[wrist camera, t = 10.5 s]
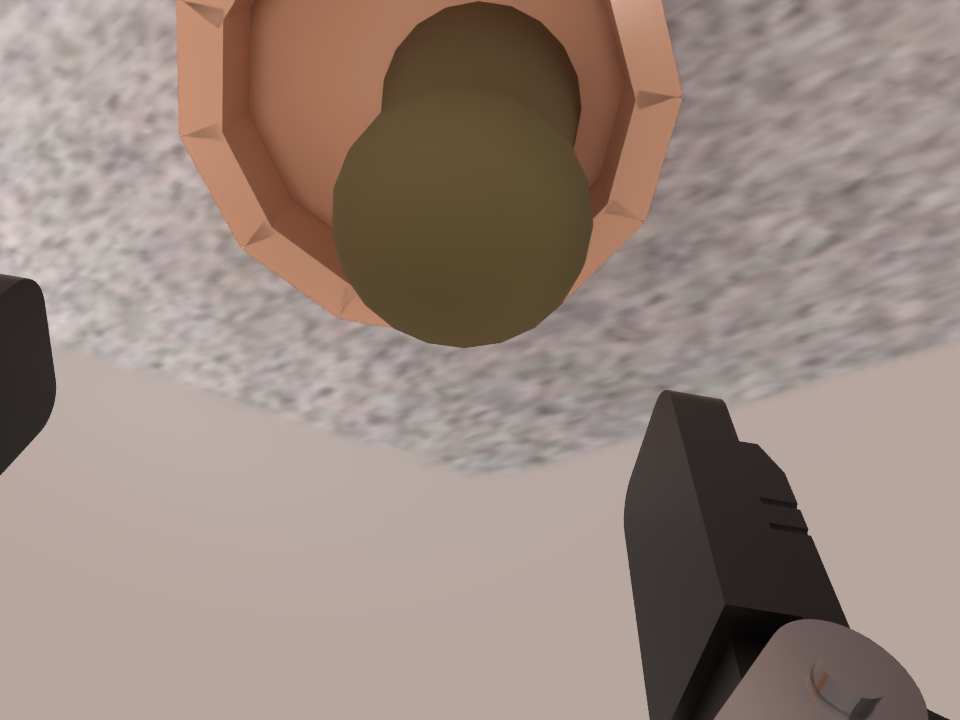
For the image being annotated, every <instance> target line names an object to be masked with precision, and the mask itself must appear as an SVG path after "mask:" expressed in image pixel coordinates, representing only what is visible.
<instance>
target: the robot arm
mask: <svg viewBox="0 0 960 720" xmlns="http://www.w3.org/2000/svg"><path fill="white" fill-rule="evenodd" d="M55 396H56V379H55V372H54V365H53V358H52V351H51V344H50V337H49V330H48V322H47V315H46V308H45V301H44V296H43V293H42V290H41V288H40V287H39V285H38V284H37V283H36V282H35V281H33V280H31V279H27V278H21V277H16V276H10V275H4V274H0V475H1V474H2V473H3V472H4V471H5V470H6V468H7V467H8V466H9V465H10V464H11V463H12V462H13V461H14V460H15V459H16V458H17V457H18V455H19V454H20V453H21V452H22V451H23V450H24V449H25V448H26V447H27V446H28V445H29V443H30V442H31V441H32V440H33V439H34V438H35V437H36V436H37V435H38V433H39V432H40V431H41V430H42V429H43V428H44V426H45V425H46V423H47V421H48V419H49V417H50V414H51V412H52V409H53V406H54V401H55ZM624 531H625V539H626V546H627V553H628V560H629V569H630V576H631V583H632V591H633V598H634V606H635V613H636V621H637V628H638V636H639V642H640V650H641V658H642V666H643V673H644V680H645V688H646V695H647V703H648V710H649V717H650V720H949V719H947V718H944V717H942V716H940V715H938V714H936V713H934V712H932V711H930V710H928V709H927V708H926V704H925V701H924V699H923V696H922V694H921V692H920V690H919V688H918V687H917V685H916V683H915V682H914V680H913V679H912V677H911V676H910V675H909V674H908V672H907V671H906V670H905V668H904V667H903V666H902V665H901V664H900V663H899V662H898V661H897V660H896V659H895V658H894V657H893V656H891V655H890V654H889V653H888V652H887V651H885V650H884V649H883V648H882V647H881V646H879V645H878V644H876V643H875V642H873V641H872V640H871V639H869V638H867V637H865V636H863V635H861V634H860V633H858V632H856V631H854V630H852V629H850V628H849V625H848V623H847V620H846V618H845V615H844V613H843V611H842V608H841V606H840V603H839V601H838V599H837V596H836V594H835V592H834V589H833V587H832V585H831V582H830V580H829V577H828V575H827V572H826V570H825V568H824V565H823V563H822V561H821V558H820V556H819V554H818V551H817V549H816V547H815V544H814V542H813V539H812V537H811V536H809V535H808V534H807V532H808V527H807V525H806V523H805V521H804V518H803V515H802V513H801V511H800V510H798V509H797V501H796V499H795V496H794V494H793V492H792V489H791V487H790V485H789V482H788V480H787V477H786V475H785V473H784V472H783V471H782V470H781V469H780V468H779V467H778V466H777V464H776V463H775V462H774V461H773V460H772V459H771V458H770V457H769V456H768V455H767V454H766V453H765V452H764V451H763V450H762V449H761V447H760V446H759V445H758V444H752V443H746V442H740V441H739V440H738V437H737V434H736V431H735V428H734V426H733V423H732V420H731V417H730V415H729V412H728V409H727V406H726V404H725V402H724V401H723V400H721V399H716V398H710V397H705V396H699V395H693V394H687V393H681V392H675V391H670V390H664V391H663V392H662V393H661V394H660V396H659V397H658V399H657V402H656V404H655V407H654V410H653V413H652V416H651V419H650V422H649V425H648V428H647V431H646V434H645V437H644V439H643V442H642V445H641V448H640V452H639V455H638V457H637V460H636V463H635V466H634V469H633V472H632V475H631V478H630V481H629V485H628V489H627V494H626V500H625V508H624Z"/></svg>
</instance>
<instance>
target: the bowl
mask: <svg viewBox="0 0 960 720" xmlns="http://www.w3.org/2000/svg"><path fill="white" fill-rule="evenodd" d="M476 1H481V2H488V3H495V4H501V5H508V6H512V7H514V8H516V9H518V10H520V11H522V12H524V13H526V14H527V15H529V16H531V17H533V18H535V19H537V20H539V21H541V22H542V23H543V24H544V25H545V26H546V28H547V29H548V30H549V31H550V32H551V33H552V34H553V35H554V36H555V37H556V38H557V39H558V40H559V41H560V42H561V44H562V45H563V46H564V47H565V49H566V52H567V54H568V56H569V58H570V60H571V63H572V65H573V67H574V69H575V71H576V73H577V76H578V82H579V90H580V99H581V108H582V109H581V115H580V120H579V125H578V130H577V135H576V140H575V144H574V148H573V150H574V152H575V154H576V156H577V158H578V161H579V163H580V165H581V167H582V169H583V171H584V173H585V175H586V178H587V181H588V185H589V192H590V200H591V209H592V217H593V230H592V234H591V239H590V243H589V248H588V252H587V257H586V262H585V264H584V267H583V269H582V271H581V273H580V275H579V276H578V278H577V280H576V281H575V283H574V285H573V286H572V288H571V290H570V291H569V293H568V295H567V296H566V298H565V300H566V299H567V298H569V297H570V296H571V295H572V294H573V293H574V292H575V291H576V290H577V289H578V288H579V287H580V286H581V285H582V284H583V283H584V282H585V281H586V280H587V279H588V278H589V277H590V276H591V275H592V274H593V273H594V272H595V271H596V270H597V269H598V268H599V267H600V266H601V265H602V264H603V263H604V262H605V261H606V260H607V259H608V258H609V257H610V256H611V255H612V254H613V253H614V252H615V251H616V250H617V249H618V248H620V247H621V246H622V245H623V244H624V243H625V242H626V241H627V240H628V239H629V238H630V237H631V236H632V235H633V234H634V233H635V232H636V231H637V230H638V229H639V228H640V227H641V226H642V225H643V224H644V222H643V221H646V218H647V214H648V211H649V208H650V205H651V201H652V198H653V195H654V191H655V188H656V185H657V181H658V178H659V175H660V171H661V168H662V165H663V162H664V158H665V155H666V152H667V148H668V145H669V142H670V138H671V135H672V132H673V129H674V125H675V122H676V119H677V115H678V112H679V109H680V105H681V102H682V99H683V98H682V97H681V95H683V94H682V89H681V85H680V81H679V76H678V72H677V67H676V63H675V59H674V54H673V50H672V45H671V41H670V36H669V32H668V28H667V23H666V19H665V14H664V10H663V5H662V1H661V0H176V5H177V54H178V103H179V134H180V135H183V136H181V137H180V138H181V140H182V142H183V144H184V146H185V148H186V149H187V151H188V153H189V155H190V157H191V158H192V160H193V162H194V164H195V166H196V168H197V169H198V171H199V173H200V175H201V177H202V179H203V180H204V182H205V184H206V186H207V188H208V189H209V191H210V193H211V195H212V197H213V199H214V200H215V202H216V204H217V206H218V208H219V209H220V211H221V213H222V215H223V217H224V219H225V220H226V222H227V224H228V226H229V228H230V230H231V231H232V233H233V235H234V237H235V239H236V240H237V242H238V244H239V246H240V248H241V247H244V246H245V247H244V248H243V251H245V252H246V253H248V254H249V255H250V256H252V257H253V258H255V259H256V260H257V261H259V262H260V263H262V264H263V265H264V266H266V267H267V268H269V269H270V270H271V271H273V272H274V273H276V274H277V275H278V276H280V277H281V278H283V279H284V280H285V281H287V282H288V283H290V284H291V285H292V286H294V287H295V288H297V289H298V290H299V291H301V292H302V293H304V294H305V295H306V296H308V297H309V298H311V299H312V300H313V301H315V302H316V303H318V304H319V305H320V306H322V307H323V308H325V309H326V310H327V311H329V312H330V313H332V314H333V315H334V316H336V317H337V318H338V317H339V316H340V315H341V316H340V319H344V320H349V321H355V322H361V323H366V324H372V325H378V326H384V327H389V328H393V327H391V326H390V325H389V324H388V323H386V322H385V321H384V320H383V319H381V318H380V317H379V316H378V315H377V314H375V313H374V312H373V311H372V310H370V309H369V308H368V307H367V306H365V305H364V303H363V302H362V300H361V299H360V297H359V296H358V294H357V293H356V291H355V290H354V288H353V287H352V286H351V284H350V283H349V281H348V280H347V278H346V277H345V275H344V274H343V270H342V267H341V264H340V260H339V257H338V253H337V250H336V247H335V243H334V240H333V234H332V211H333V188H334V186H335V183H336V180H337V178H338V175H339V173H340V170H341V168H342V165H343V163H344V160H345V158H346V155H347V152H348V151H349V149H350V148H351V146H352V145H353V144H354V142H355V141H356V140H357V139H358V138H359V137H360V135H361V134H362V133H363V132H364V131H365V130H366V129H367V127H368V126H369V125H370V124H371V123H372V122H373V121H374V119H375V118H376V117H377V116H378V115H379V114H380V113H381V106H382V94H383V82H384V78H385V75H386V73H387V70H388V68H389V65H390V63H391V60H392V58H393V55H394V53H395V50H396V49H397V47H398V46H399V45H400V44H401V43H402V42H403V40H404V39H405V38H406V37H407V36H408V34H409V33H410V32H411V31H412V30H413V29H414V27H415V26H416V25H417V24H419V23H420V22H422V21H424V20H425V19H427V18H429V17H430V16H432V15H434V14H435V13H437V12H439V11H440V10H442V9H444V8H446V7H451V6H456V5H461V4H466V3H471V2H476ZM565 300H564V301H565ZM564 301H563V302H564Z"/></svg>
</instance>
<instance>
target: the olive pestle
mask: <svg viewBox="0 0 960 720" xmlns="http://www.w3.org/2000/svg"><path fill="white" fill-rule="evenodd" d="M581 109H582V108H581V99H580V90H579V82H578V76H577V73H576V71H575V69H574V67H573V65H572V63H571V60H570V58H569V56H568V54H567V52H566V49H565V47H564V46H563V45H562V44H561V42H560V41H559V40H558V39H557V38H556V37H555V36H554V35H553V34H552V33H551V32H550V31H549V30H548V29H547V28H546V26H545V25H544V24H543V23H542V22H541V21H539V20H537V19H535V18H533V17H531V16H529V15H527V14H526V13H524V12H522V11H520V10H518V9H516V8H514V7H512V6H508V5H501V4H495V3H488V2H481V1H476V2H471V3H466V4H461V5H456V6H451V7H446V8H444V9H442V10H440V11H439V12H437V13H435V14H434V15H432V16H430V17H429V18H427V19H425V20H424V21H422V22H420V23H419V24H417V25H416V26H415V27H414V29H413V30H412V31H411V32H410V33H409V34H408V36H407V37H406V38H405V39H404V40H403V42H402V43H401V44H400V45H399V46H398V47H397V49H396V50H395V53H394V55H393V58H392V60H391V63H390V65H389V68H388V70H387V73H386V75H385V78H384V82H383V94H382V106H381V113H380V114H379V115H378V116H377V117H376V118H375V119H374V121H373V122H372V123H371V124H370V125H369V126H368V127H367V129H366V130H365V131H364V132H363V133H362V134H361V135H360V137H359V138H358V139H357V140H356V141H355V142H354V144H353V145H352V146H351V148H350V149H349V151H348V152H347V155H346V158H345V160H344V163H343V165H342V168H341V170H340V173H339V175H338V178H337V180H336V183H335V186H334V188H333V211H332V234H333V240H334V243H335V247H336V250H337V253H338V257H339V260H340V264H341V267H342V270H343V274H344V275H345V277H346V278H347V280H348V281H349V283H350V284H351V286H352V287H353V288H354V290H355V291H356V293H357V294H358V296H359V297H360V299H361V300H362V302H363V303H364V305H365V306H367V307H368V308H369V309H370V310H372V311H373V312H374V313H375V314H377V315H378V316H379V317H380V318H381V319H383V320H384V321H385V322H386V323H388V324H389V325H390V326H391V327H393V328H394V329H396V330H399V331H401V332H403V333H406V334H408V335H410V336H413V337H415V338H417V339H420V340H422V341H424V342H427V343H431V344H439V345H446V346H454V347H461V348H468V347H475V346H482V345H489V344H496V343H502V342H504V341H506V340H508V339H511V338H513V337H515V336H517V335H520V334H522V333H524V332H526V331H529V330H531V329H533V328H535V327H536V326H537V325H538V324H539V323H541V322H542V321H543V320H544V319H545V318H546V317H547V316H549V315H550V314H551V313H552V312H553V311H554V310H556V309H557V308H558V307H559V306H560V305H561V304H562V303H563V301H564V300H565V298H566V296H567V295H568V293H569V291H570V290H571V288H572V286H573V285H574V283H575V281H576V280H577V278H578V276H579V275H580V273H581V271H582V269H583V267H584V264H585V262H586V257H587V252H588V248H589V243H590V239H591V234H592V230H593V217H592V209H591V200H590V192H589V185H588V181H587V178H586V175H585V173H584V171H583V169H582V167H581V165H580V163H579V161H578V158H577V156H576V154H575V152H574V150H573V148H574V144H575V140H576V135H577V130H578V125H579V120H580V115H581Z"/></svg>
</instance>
